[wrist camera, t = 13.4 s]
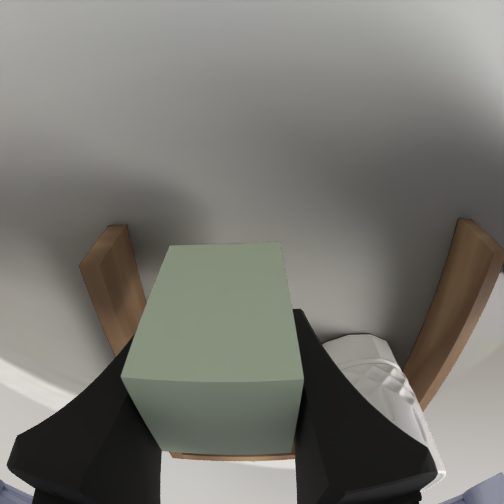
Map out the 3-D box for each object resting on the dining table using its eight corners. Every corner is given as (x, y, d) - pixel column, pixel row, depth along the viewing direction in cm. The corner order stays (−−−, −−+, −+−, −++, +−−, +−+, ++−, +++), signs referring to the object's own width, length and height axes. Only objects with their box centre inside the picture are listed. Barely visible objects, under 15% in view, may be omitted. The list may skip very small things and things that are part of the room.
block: (280, 242, 11) (304, 379, 6) (277, 324, 13) (291, 452, 8) (169, 245, 11) (120, 376, 6) (185, 326, 13) (162, 450, 8)
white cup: (389, 385, 22) (422, 496, 13) (292, 403, 22) (303, 523, 14) (407, 315, 18) (469, 455, 9) (283, 336, 18) (300, 501, 10)
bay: (471, 219, 14) (507, 252, 11) (390, 410, 24) (399, 442, 21) (108, 225, 14) (78, 265, 11) (177, 423, 24) (172, 457, 21)
